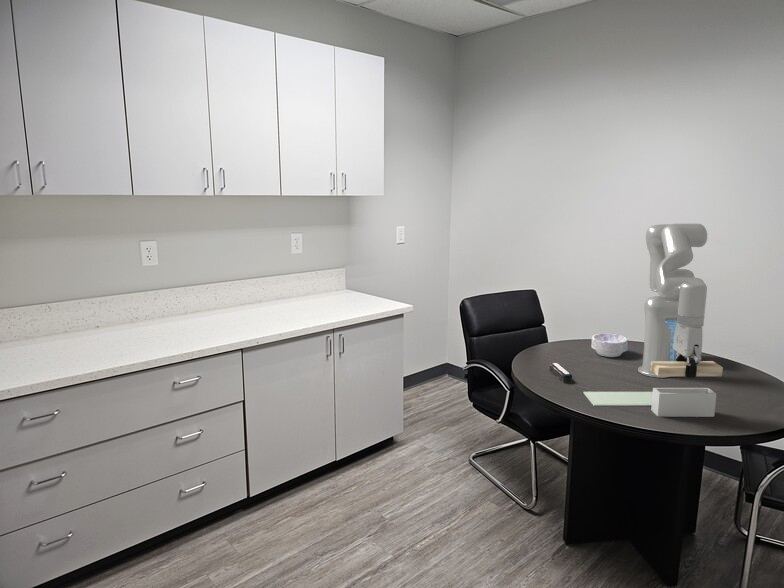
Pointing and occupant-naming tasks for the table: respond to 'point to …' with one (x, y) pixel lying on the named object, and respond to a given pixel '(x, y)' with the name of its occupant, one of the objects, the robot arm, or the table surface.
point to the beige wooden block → (680, 367)
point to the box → (683, 402)
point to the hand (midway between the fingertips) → (685, 372)
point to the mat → (620, 398)
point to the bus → (560, 373)
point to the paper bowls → (609, 344)
